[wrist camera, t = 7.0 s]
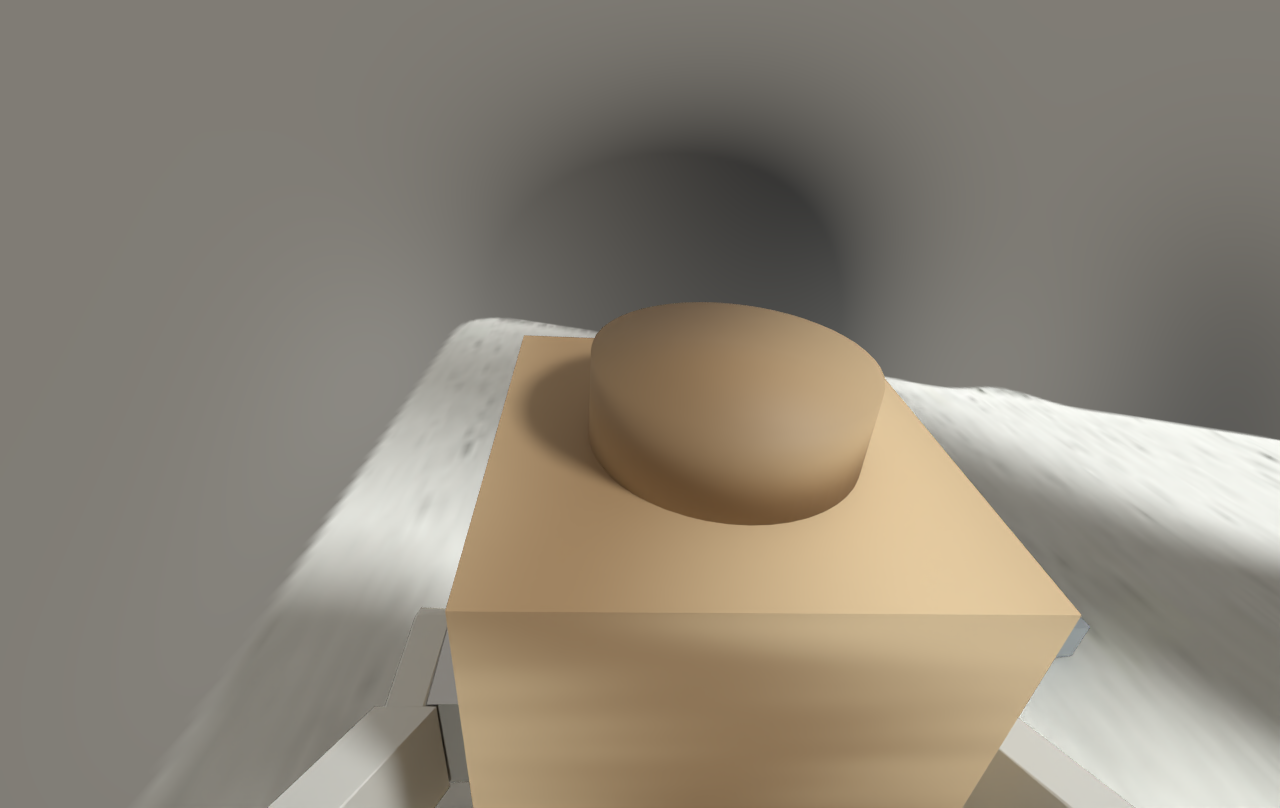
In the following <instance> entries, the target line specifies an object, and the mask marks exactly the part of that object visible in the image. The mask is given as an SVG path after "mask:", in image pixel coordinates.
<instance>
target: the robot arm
mask: <svg viewBox="0 0 1280 808" xmlns="http://www.w3.org/2000/svg"><path fill="white" fill-rule="evenodd" d="M445 610H446V608H421V609H420V610H419V612H418V613H417V615H416V616H415V618H414V621H413V624H412V627H411V630H410V633H409V636H408V639H407V642H406V645H405V648H404V651H403V654H402V657H401V660H400V663H399V666H398V669H397V671H396V674H395V677H394V680H393V683H392V686H391V689H390V692H389V695H388V698H387V701H386V704H385V706H379V707H373V708H372V709H371V710H370V711H369V712H368V713H367V714H366V715H365V716H364V717H363V718H362V719H361V720H360V721H358V722H357V723H356V724H355V725H354V726H353V727H352V728H351V729H350V730H349V731H348V732H347V733H346V734H345V735H344V736H343V737H342V738H340V739H339V740H338V741H337V742H336V743H335V744H334V745H333V746H332V747H331V748H330V749H329V750H328V751H327V752H326V753H325V754H324V755H322V756H321V757H320V758H319V759H318V760H317V761H316V762H315V763H314V764H313V765H312V766H311V767H310V768H309V769H308V770H307V771H305V772H304V773H303V774H302V775H301V776H300V777H299V778H298V779H297V780H296V781H295V782H294V783H293V784H292V785H291V786H290V787H289V788H287V789H286V790H285V791H284V792H283V793H282V794H281V795H280V796H279V797H278V798H277V799H276V800H275V801H274V802H273V803H272V804H271V805H269V806H268V807H267V808H435V807H436V805H437V804H438V802H439V801H440V800H441V798H442V797H443V796H444V794H445V793H446V792H447V790H448V789H449V787H450V784H449V783H453V782H469V776H468V769H467V762H466V755H465V748H464V741H463V734H462V727H461V720H460V713H459V705H458V698H457V691H456V684H455V677H454V670H453V663H452V656H451V649H450V642H449V635H448V628H447V621H446V614H445ZM963 808H1135V807H1134V806H1133V805H1131V804H1130V803H1129V802H1127V801H1126V800H1125V799H1123V798H1122V797H1121V796H1120V795H1118V794H1117V793H1116V792H1114V791H1113V790H1112V789H1110V788H1109V787H1108V786H1107V785H1105V784H1104V783H1103V782H1101V781H1100V780H1099V779H1097V778H1096V777H1095V776H1093V775H1092V774H1091V773H1090V772H1088V771H1087V770H1086V769H1084V768H1083V767H1082V766H1080V765H1079V764H1078V763H1077V762H1075V761H1074V760H1073V759H1071V758H1070V757H1069V756H1067V755H1066V754H1065V753H1064V752H1062V751H1061V750H1060V749H1058V748H1057V747H1056V746H1054V745H1053V744H1052V743H1051V742H1049V741H1048V740H1047V739H1045V738H1044V737H1043V736H1041V735H1040V734H1039V733H1038V732H1036V731H1035V730H1034V729H1032V728H1031V727H1030V726H1028V725H1027V724H1026V723H1025V722H1023V721H1022V720H1021V719H1019V718H1018V719H1017V720H1016V722H1015V724H1014V725H1013V727H1012V729H1011V730H1010V732H1009V733H1008V735H1007V737H1006V738H1005V740H1004V741H1003V743H1002V745H1001V746H1000V748H999V750H998V751H997V753H996V754H995V756H994V758H993V759H992V761H991V762H990V764H989V766H988V767H987V769H986V771H985V772H984V774H983V775H982V777H981V779H980V780H979V782H978V783H977V785H976V787H975V788H974V790H973V791H972V793H971V795H970V796H969V798H968V800H967V801H966V803H965V804H964V806H963Z"/></svg>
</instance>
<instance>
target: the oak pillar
mask: <svg viewBox="0 0 1280 808" xmlns="http://www.w3.org/2000/svg"><path fill="white" fill-rule="evenodd" d="M445 614H446V621H447V628H448V635H449V642H450V649H451V656H452V663H453V670H454V677H455V684H456V691H457V698H458V705H459V713H460V720H461V727H462V734H463V741H464V748H465V755H466V762H467V769H468V776H469V783H470V790H471V797H472V804H473V808H963V806H964V804H965V803H966V801H967V800H968V798H969V796H970V795H971V793H972V791H973V790H974V788H975V787H976V785H977V783H978V782H979V780H980V779H981V777H982V775H983V774H984V772H985V771H986V769H987V767H988V766H989V764H990V762H991V761H992V759H993V758H994V756H995V754H996V753H997V751H998V750H999V748H1000V746H1001V745H1002V743H1003V741H1004V740H1005V738H1006V737H1007V735H1008V733H1009V732H1010V730H1011V729H1012V727H1013V725H1014V724H1015V722H1016V720H1017V719H1018V717H1019V716H1020V714H1021V712H1022V711H1023V709H1024V708H1025V706H1026V704H1027V703H1028V701H1029V699H1030V698H1031V696H1032V695H1033V693H1034V691H1035V690H1036V688H1037V687H1038V685H1039V683H1040V682H1041V680H1042V678H1043V677H1044V675H1045V674H1046V672H1047V670H1048V669H1049V667H1050V666H1051V664H1052V662H1053V661H1054V659H1055V657H1056V656H1057V654H1058V653H1059V651H1060V649H1061V648H1062V646H1063V645H1064V643H1065V641H1066V640H1067V638H1068V636H1069V635H1070V633H1071V632H1072V630H1073V628H1074V627H1075V625H1076V624H1077V622H1078V620H1079V619H1080V617H1081V614H1080V613H1079V611H1078V610H1077V609H1076V608H1075V607H1074V605H1073V604H1072V603H1071V602H1070V601H1069V599H1068V598H1067V597H1066V596H1065V595H1064V593H1063V592H1062V591H1061V590H1060V589H1059V587H1058V586H1057V585H1056V584H1055V583H1054V581H1053V580H1052V579H1051V578H1050V577H1049V575H1048V574H1047V573H1046V572H1045V571H1044V569H1043V568H1042V567H1041V566H1040V565H1039V563H1038V562H1037V561H1036V560H1035V559H1034V557H1033V556H1032V555H1031V554H1030V553H1029V551H1028V550H1027V549H1026V548H1025V547H1024V545H1023V544H1022V543H1021V542H1020V541H1019V539H1018V538H1017V537H1016V536H1015V535H1014V533H1013V532H1012V531H1011V530H1010V528H1009V527H1008V526H1007V525H1006V524H1005V522H1004V521H1003V520H1002V519H1001V518H1000V516H999V515H998V514H997V513H996V512H995V510H994V509H993V508H992V507H991V506H990V504H989V503H988V502H987V501H986V500H985V498H984V497H983V496H982V495H981V494H980V492H979V491H978V490H977V489H976V488H975V486H974V485H973V484H972V483H971V482H970V480H969V479H968V478H967V477H966V476H965V474H964V473H963V472H962V471H961V470H960V468H959V467H958V466H957V465H956V464H955V462H954V461H953V460H952V459H951V458H950V456H949V455H948V454H947V453H946V452H945V450H944V449H943V448H942V447H941V445H940V444H939V443H938V442H937V441H936V439H935V438H934V437H933V436H932V435H931V433H930V432H929V431H928V430H927V429H926V427H925V426H924V425H923V424H922V423H921V421H920V420H919V419H918V418H917V417H916V415H915V414H914V413H913V412H912V411H911V409H910V408H909V407H908V406H907V405H906V403H905V402H904V401H903V400H902V399H901V397H900V396H899V395H898V394H897V393H896V391H895V390H894V389H893V388H892V387H891V385H890V384H889V383H888V382H887V381H886V379H885V377H884V375H883V372H882V370H881V368H880V367H879V365H878V364H877V362H876V361H875V360H874V359H873V358H872V357H871V356H870V355H869V354H868V353H867V352H866V351H865V350H864V349H862V348H861V347H860V346H859V345H857V344H856V343H854V342H852V341H851V340H850V339H848V338H846V337H845V336H843V335H841V334H839V333H837V332H835V331H833V330H831V329H829V328H826V327H824V326H822V325H819V324H817V323H814V322H811V321H809V320H806V319H803V318H799V317H796V316H793V315H790V314H785V313H782V312H778V311H773V310H769V309H763V308H758V307H752V306H746V305H737V304H726V303H709V302H707V303H706V302H692V303H675V304H665V305H659V306H653V307H648V308H643V309H640V310H637V311H633V312H630V313H628V314H625V315H623V316H620V317H618V318H616V319H615V320H613V321H611V322H609V323H608V324H607V325H605V326H604V327H603V328H602V329H601V330H600V331H599V332H598V333H597V334H596V336H595V338H577V337H550V336H524V337H523V341H522V344H521V348H520V351H519V355H518V358H517V362H516V365H515V369H514V372H513V376H512V379H511V383H510V386H509V390H508V393H507V397H506V400H505V404H504V407H503V411H502V414H501V418H500V421H499V425H498V428H497V432H496V435H495V439H494V442H493V446H492V449H491V453H490V456H489V460H488V463H487V467H486V470H485V474H484V477H483V481H482V484H481V488H480V491H479V495H478V498H477V502H476V505H475V509H474V512H473V516H472V519H471V523H470V526H469V530H468V533H467V537H466V540H465V544H464V547H463V551H462V554H461V558H460V561H459V565H458V568H457V572H456V575H455V579H454V582H453V586H452V589H451V593H450V596H449V600H448V603H447V607H446V610H445Z"/></svg>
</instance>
